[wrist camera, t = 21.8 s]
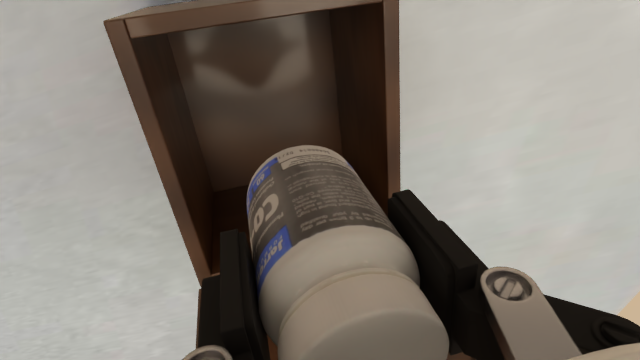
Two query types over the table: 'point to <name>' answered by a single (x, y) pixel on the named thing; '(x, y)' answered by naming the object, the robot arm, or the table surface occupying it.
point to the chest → (258, 99)
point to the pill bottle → (334, 266)
